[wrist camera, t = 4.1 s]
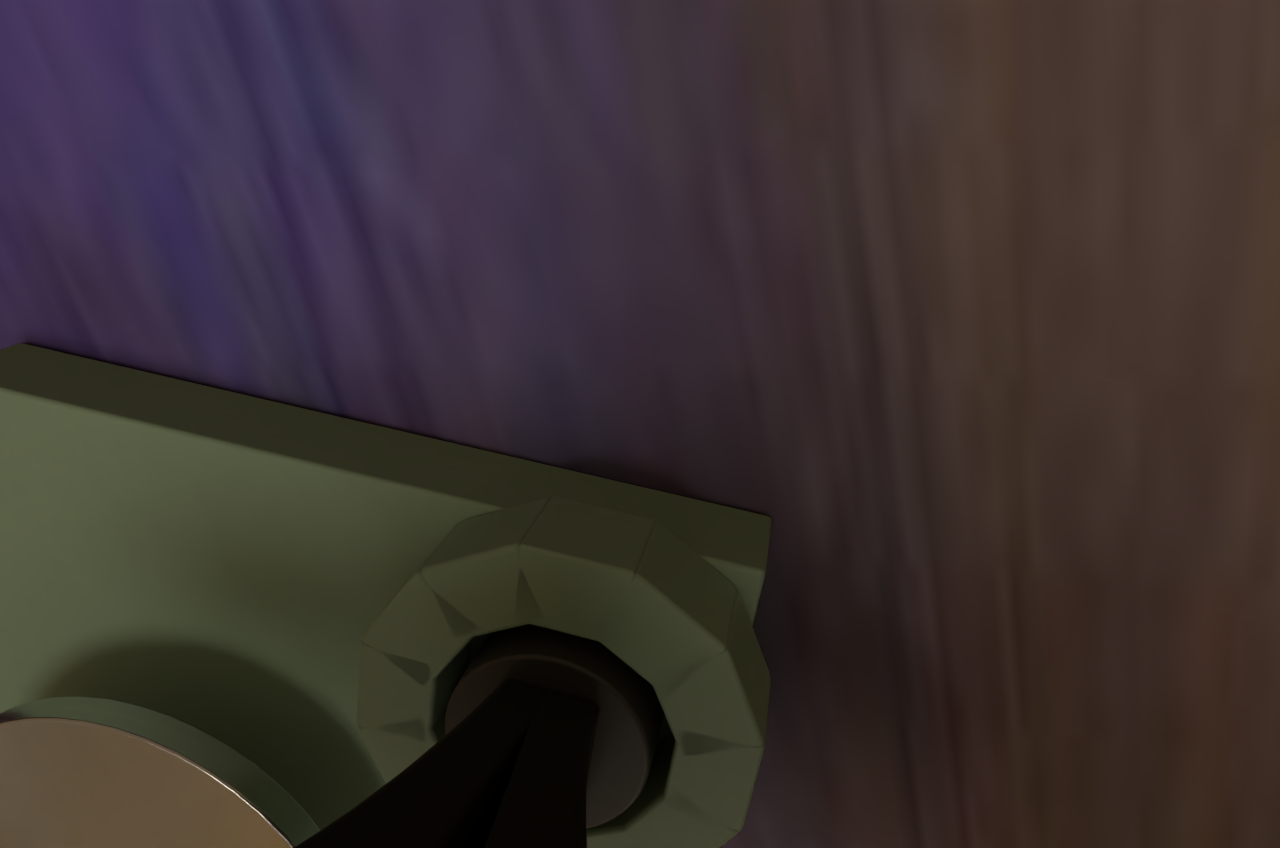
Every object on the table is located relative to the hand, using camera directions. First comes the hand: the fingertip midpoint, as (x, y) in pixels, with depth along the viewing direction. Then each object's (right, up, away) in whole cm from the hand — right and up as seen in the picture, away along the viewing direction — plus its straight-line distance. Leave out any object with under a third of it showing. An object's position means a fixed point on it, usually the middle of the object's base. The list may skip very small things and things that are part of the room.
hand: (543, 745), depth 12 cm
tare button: (0, 0, +1) cm, 2 cm away
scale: (-4, -1, +5) cm, 7 cm away
